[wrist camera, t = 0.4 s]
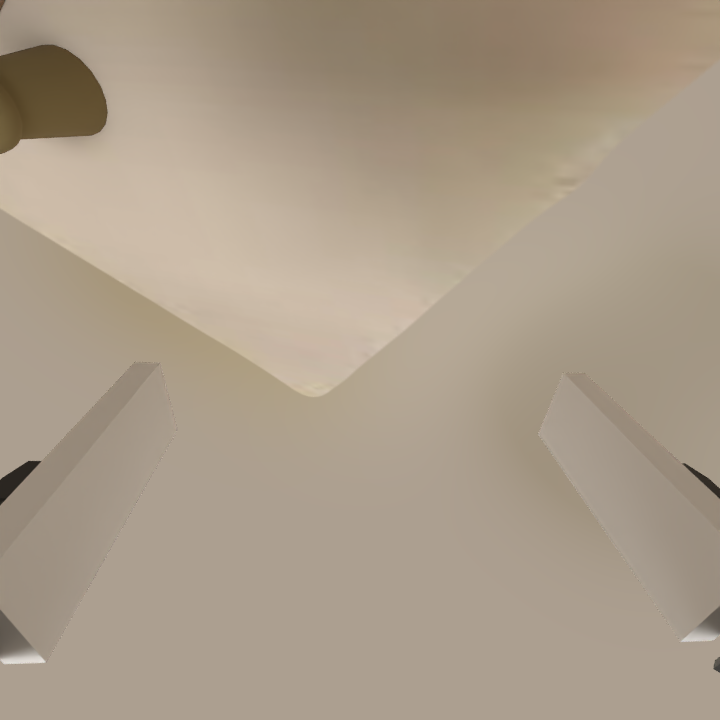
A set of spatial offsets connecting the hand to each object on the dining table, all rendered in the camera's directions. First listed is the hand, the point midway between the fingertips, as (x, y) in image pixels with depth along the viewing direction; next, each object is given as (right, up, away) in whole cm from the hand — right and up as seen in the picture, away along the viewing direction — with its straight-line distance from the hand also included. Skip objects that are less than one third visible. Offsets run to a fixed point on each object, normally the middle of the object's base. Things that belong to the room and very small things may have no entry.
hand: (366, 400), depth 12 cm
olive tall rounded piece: (-24, +23, +18) cm, 38 cm away
